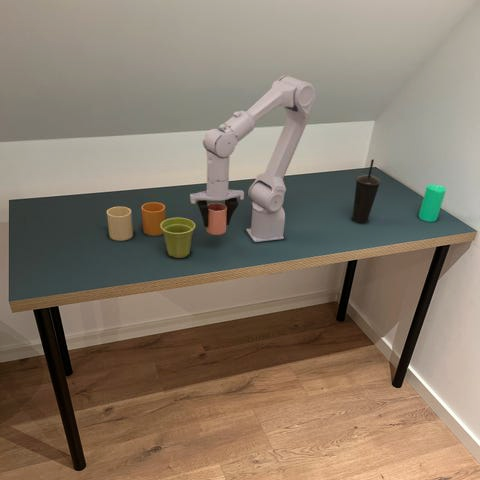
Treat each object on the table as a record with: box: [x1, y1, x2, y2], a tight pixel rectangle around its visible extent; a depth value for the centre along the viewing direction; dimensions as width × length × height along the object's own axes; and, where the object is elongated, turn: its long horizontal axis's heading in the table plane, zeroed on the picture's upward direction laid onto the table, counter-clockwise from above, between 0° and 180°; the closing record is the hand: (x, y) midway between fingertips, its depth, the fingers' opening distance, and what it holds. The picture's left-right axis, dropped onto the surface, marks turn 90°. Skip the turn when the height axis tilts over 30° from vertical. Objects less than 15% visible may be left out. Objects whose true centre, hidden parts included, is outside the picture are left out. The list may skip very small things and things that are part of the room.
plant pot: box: [160, 217, 196, 259], centre depth 141 cm, size 9×9×9 cm
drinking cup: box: [351, 158, 382, 224], centre depth 161 cm, size 8×8×20 cm
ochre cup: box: [140, 201, 167, 237], centre depth 151 cm, size 7×7×8 cm
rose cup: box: [205, 202, 228, 236], centre depth 141 cm, size 6×6×7 cm
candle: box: [418, 183, 447, 222], centre depth 168 cm, size 6×6×12 cm
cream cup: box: [106, 206, 134, 242], centre depth 148 cm, size 7×7×8 cm
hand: (216, 224), depth 142 cm, fingers closed on rose cup, 5 cm apart
